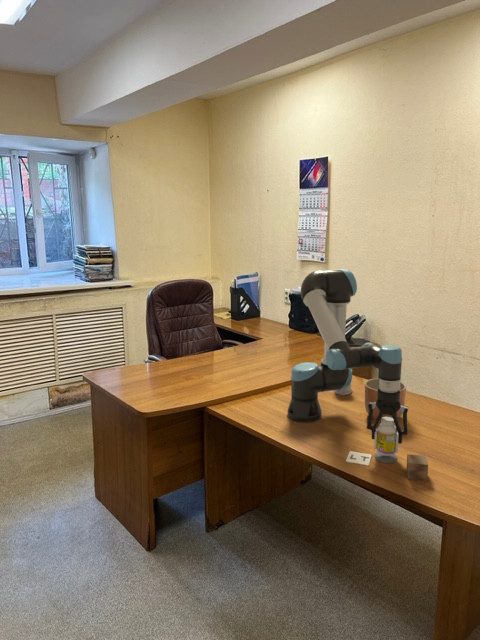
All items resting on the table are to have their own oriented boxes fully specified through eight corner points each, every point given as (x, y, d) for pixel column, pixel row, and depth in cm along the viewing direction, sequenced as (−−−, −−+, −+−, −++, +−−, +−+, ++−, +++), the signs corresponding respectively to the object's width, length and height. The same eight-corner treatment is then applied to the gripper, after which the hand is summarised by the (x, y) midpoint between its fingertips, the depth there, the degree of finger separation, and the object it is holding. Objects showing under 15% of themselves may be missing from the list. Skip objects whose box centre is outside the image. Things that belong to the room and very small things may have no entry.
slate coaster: (373, 460, 168) (373, 459, 168) (376, 450, 175) (376, 449, 175) (396, 465, 165) (396, 464, 165) (398, 454, 172) (398, 453, 172)
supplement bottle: (373, 448, 173) (375, 415, 170) (391, 447, 173) (392, 414, 170) (380, 457, 166) (382, 423, 163) (398, 456, 167) (400, 422, 164)
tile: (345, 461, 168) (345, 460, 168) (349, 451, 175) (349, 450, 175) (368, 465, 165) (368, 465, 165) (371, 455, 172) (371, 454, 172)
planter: (362, 408, 214) (363, 377, 211) (401, 410, 211) (403, 378, 207) (364, 424, 198) (365, 390, 195) (406, 427, 194) (408, 392, 191)
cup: (333, 387, 241) (333, 365, 239) (351, 388, 240) (351, 365, 238) (334, 395, 231) (334, 372, 229) (352, 395, 230) (353, 372, 228)
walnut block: (408, 479, 156) (409, 463, 155) (406, 470, 162) (407, 454, 160) (427, 481, 155) (428, 464, 153) (424, 471, 160) (425, 455, 159)
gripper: (358, 389, 165) (357, 449, 170) (417, 396, 157) (414, 458, 162) (362, 382, 172) (360, 440, 177) (419, 389, 164) (415, 449, 169)
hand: (386, 449), depth 169 cm, fingers closed on supplement bottle, 7 cm apart
